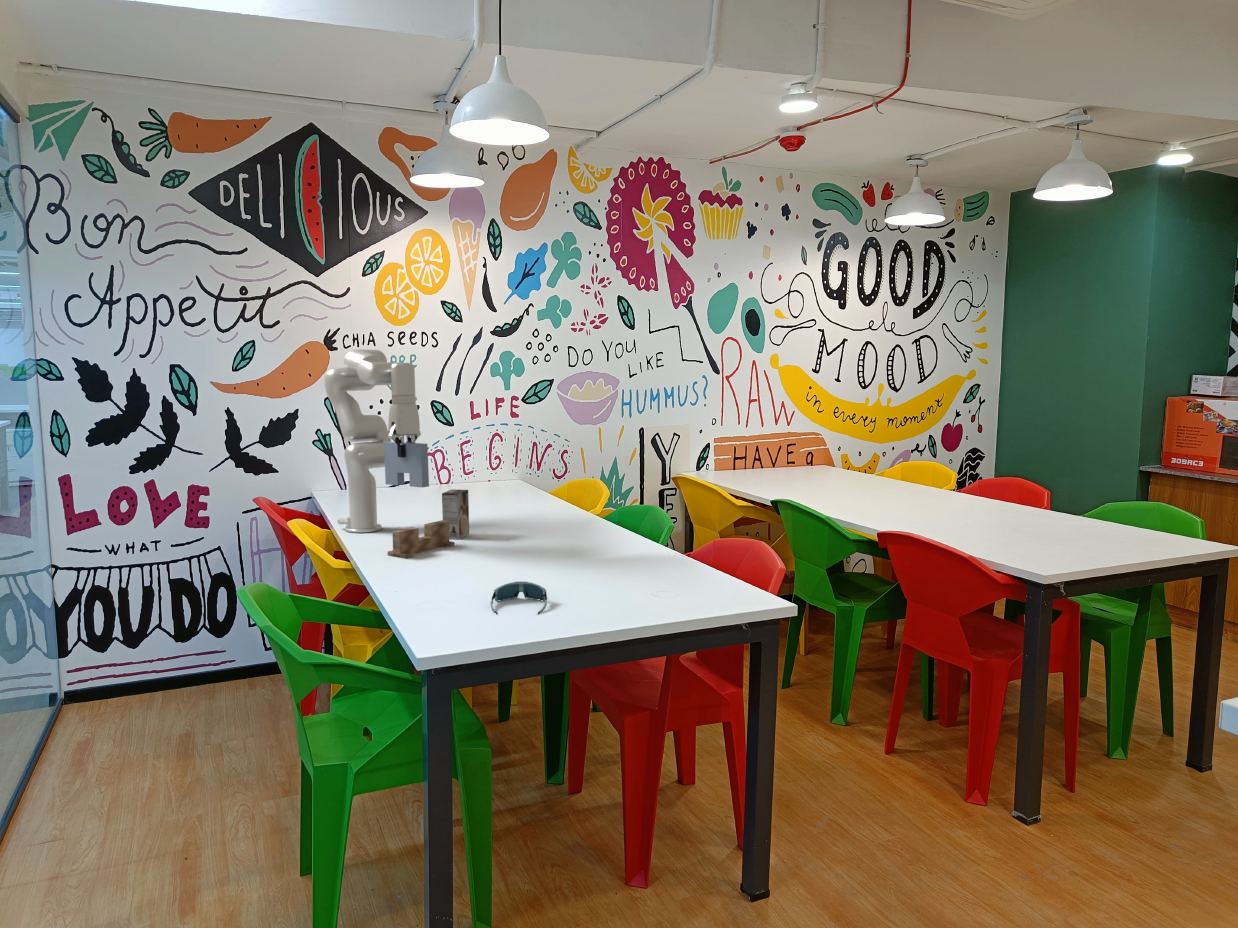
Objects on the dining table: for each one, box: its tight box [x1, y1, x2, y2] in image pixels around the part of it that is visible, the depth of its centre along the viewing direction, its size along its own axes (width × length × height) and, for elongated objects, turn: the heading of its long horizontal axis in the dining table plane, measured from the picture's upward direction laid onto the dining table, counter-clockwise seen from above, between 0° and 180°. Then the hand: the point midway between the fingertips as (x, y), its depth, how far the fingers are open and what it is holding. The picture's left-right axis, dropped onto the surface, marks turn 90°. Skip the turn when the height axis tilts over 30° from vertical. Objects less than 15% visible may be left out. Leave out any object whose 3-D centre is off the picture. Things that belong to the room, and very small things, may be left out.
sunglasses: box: [490, 580, 548, 615], centre depth 217 cm, size 14×15×5 cm
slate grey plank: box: [384, 441, 430, 488], centre depth 281 cm, size 17×3×14 cm, turn 58°
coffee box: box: [441, 488, 470, 540], centre depth 297 cm, size 9×6×16 cm
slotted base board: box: [387, 519, 456, 560], centre depth 277 cm, size 22×8×8 cm, turn 147°
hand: (405, 456), depth 281 cm, fingers closed on slate grey plank, 3 cm apart
